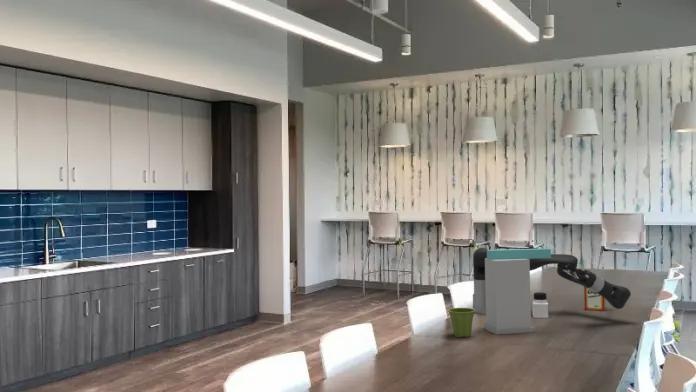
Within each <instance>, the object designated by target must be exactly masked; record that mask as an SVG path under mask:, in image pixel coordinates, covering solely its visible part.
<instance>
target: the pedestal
mask: <svg viewBox="0 0 696 392" xmlns="http://www.w3.org/2000/svg"><path fill="white" fill-rule="evenodd" d="M485 289H486V314H485V320H486V321H485V322H486V323H483V329H484V330H486V331H488V332H490V333H492V334H494V335H508V334H523V333H535V327H534V326H532V318H531V317H532V315H531V314H532V313H531V310H532V306H531V305H532V303H531V271H530V260H529V259H496V260H489V259H487V258H485Z"/></svg>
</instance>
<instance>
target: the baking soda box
mask: <svg viewBox="0 0 696 392" xmlns="http://www.w3.org/2000/svg"><path fill="white" fill-rule="evenodd" d="M602 279H603V280H605V278H602ZM605 281H606V280H605ZM583 287H584V286H583ZM583 291H584V292H583V293H584V296H583V297H584V311H594V312H595V311H597V312H605V311H606V299H605V298H604V297H602V296H601V295H599V294H597V293H596V292H594V291H591V290H589V289H587V288H586V287H584V290H583Z"/></svg>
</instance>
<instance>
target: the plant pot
mask: <svg viewBox="0 0 696 392" xmlns="http://www.w3.org/2000/svg"><path fill="white" fill-rule="evenodd" d="M447 312H449V317H450V321H451V325H452V331H453V336H454V337H456V338H463V337H466V338H468V337H471V335H472V330H473V329H472V328H473V321H474V316H475V313H474V312H475V309H473V308H470V307H451V308H449V309H448V310H447Z"/></svg>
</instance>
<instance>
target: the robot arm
mask: <svg viewBox="0 0 696 392" xmlns="http://www.w3.org/2000/svg"><path fill="white" fill-rule="evenodd" d="M487 250H488V249H487V248H485V247H479V248H477V249H475V251H474V252H473V254H472V266H473V272H472V273H473V294H472V309H475V312H474V314H480V315H481V314H482V315H486V289H485V258H487ZM529 260H530V272H531V271H534V270H537V269H539V268H542V267H544V266H547V265H555V264H557V265H556V273H557V275H558V276H559V277H561V278H563V279H566V280H568V281H570V282H572V283H575V284H578V285H581V286H582V287H586V288H587V289H589V290H591V291H594V292H596V293H597V294H599V295H601V296H602V297H604V298H605V301H607V302H608V303H609V305H611V306H612V307H613V308H615V309H616V310H620V309H623V308H624V307H625V305H626V303H627V302H628V300H629V299H630V297H631V294H632V293H631V291H630V289H628V288H627V287H625V286H621V285H616V284H614V283H613V284H612V283H610V282H609V281H607V280H603V279H604V278H602V277H601V276H599V275H597V274H595V273H594V272H592V271H590V270H588V269H584V270H582V269H581V268H578V262H579V261H578V260H579V259H578V258H577V256H575V255H572V254H565V253H564V254H563V253H556V254H555V253H554V254H553V253H551V258H533V259H529Z"/></svg>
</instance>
